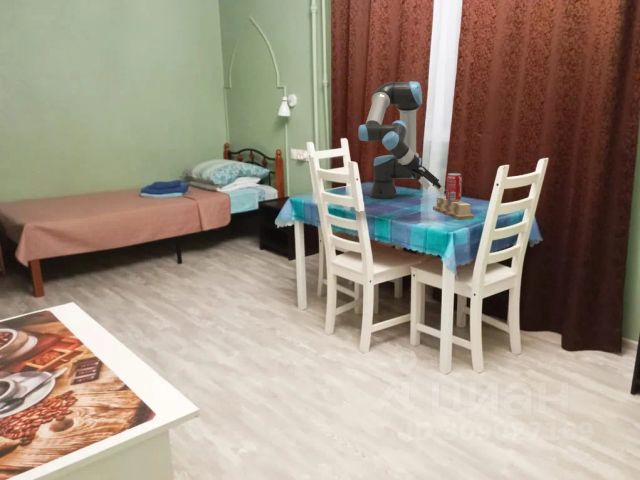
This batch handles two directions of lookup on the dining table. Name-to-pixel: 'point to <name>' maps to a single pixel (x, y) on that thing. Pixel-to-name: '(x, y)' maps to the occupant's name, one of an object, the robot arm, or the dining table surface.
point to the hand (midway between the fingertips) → (435, 189)
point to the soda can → (453, 187)
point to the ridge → (453, 208)
